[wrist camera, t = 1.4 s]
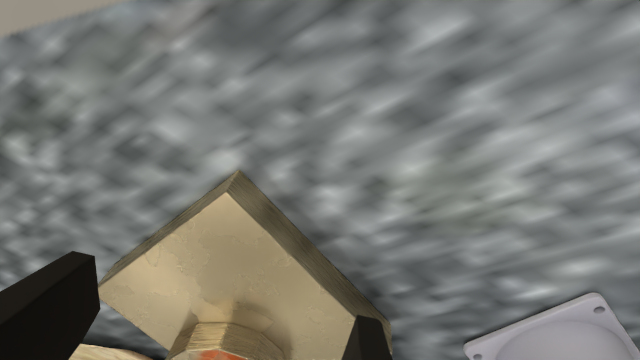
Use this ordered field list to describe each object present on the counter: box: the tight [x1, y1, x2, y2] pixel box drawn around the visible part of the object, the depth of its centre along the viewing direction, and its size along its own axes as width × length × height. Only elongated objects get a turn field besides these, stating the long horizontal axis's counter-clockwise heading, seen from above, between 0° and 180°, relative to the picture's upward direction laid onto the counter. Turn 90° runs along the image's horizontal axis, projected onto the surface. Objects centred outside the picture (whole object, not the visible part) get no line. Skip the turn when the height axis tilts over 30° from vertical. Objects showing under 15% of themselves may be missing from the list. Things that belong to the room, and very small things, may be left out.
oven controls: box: [98, 170, 392, 360], centre depth 23 cm, size 13×12×4 cm
